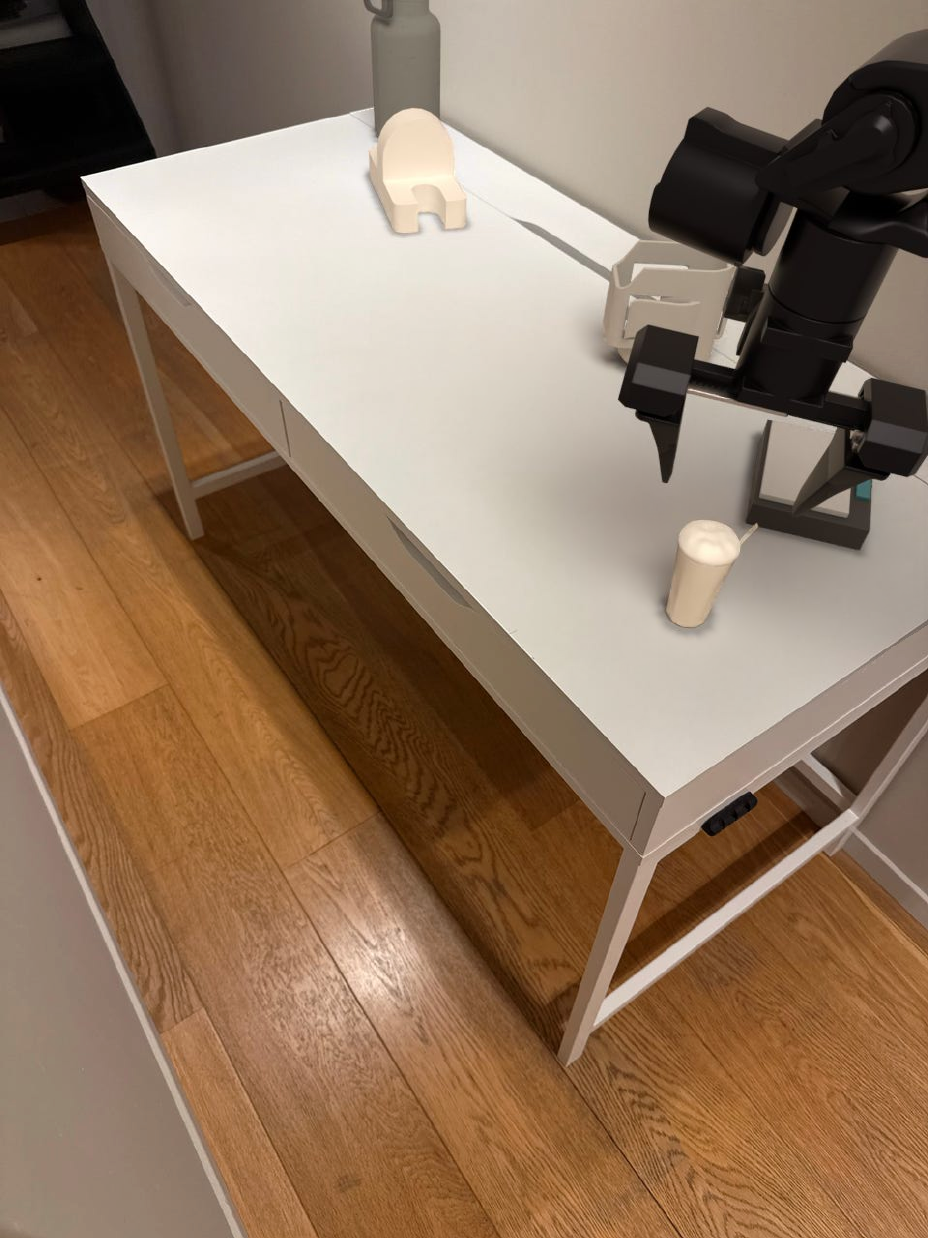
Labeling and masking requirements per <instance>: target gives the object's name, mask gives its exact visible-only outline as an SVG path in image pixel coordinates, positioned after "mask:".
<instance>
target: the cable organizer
mask: <svg viewBox="0 0 928 1238" xmlns="http://www.w3.org/2000/svg"><path fill="white" fill-rule="evenodd" d="M635 264H637V265H639V264H641V265H659V266H661V265H662V266H680V267H681V266H682V267H687V268H670V267H651V266H650V267H649V266H644V267H643V268H642V269H641V270H640V271H639V272H638V274H637V275H635V277H634V278H632V277H633V273H634V267H635ZM734 270H735V266H734V265H731V264H729V263H726V262H724V261H722V260H719V259H717V258H714V257H712V256H710V255H707V254H705V253H703V252H700V251H698V250H695V249H693V248H691V247H688V246H686V245H683V244H681V243H679V242H676V241H674V240H671V241H670V240H652V239H651V240H648V239H639V240H638V241H636V243H635V244H634V245H633V246H632V247H631V249H630V250H629V251H628V252H627V253H626V254H625V255H624V257H622V258H621V259H620V260H619V261H617V262H615V263H614V264H612V265H611V269H610V277H609V282H608V288H607V295H606V302H605V307H604V312H603V318H602V319H603V320H602V323H603V331H604V341H605V344H606V345H608V346H610V347H613V348H617V351H618V355H619V356H620V357H621V358H622V359H623V361H625V363H627V364H628V361H629V357H630V354H631V350H632V347H633V343H634V340H635V336H636V333H637V331H639V330H640V329H642V328H643V327H645V326H646V325H648V324H649V325H653V326H657V327H662V328H666V329H670V330H674V331H678V332H683V333H687V334H691V335H695V336H699V339H698V344H697V349H696V354H695V359H696V360H701V361H705V362H709V360H710V357H711V354H712V351H713V346H714V343H715V340H720V339H721V338H723V336H724V333H725V330H726V326H727V323H728V319H727V318H724V317H723V312H722V310H723V306H724V302H725V299H726V296H727V293H728V290H729V287H730V284H731V281H732V279H733V276H734ZM631 296H638V297H639V296H640V297H641V296H644V297H660V298H659V300H656V299H649V298H636V299H633V300H631V302H630V297H631ZM629 303H630V304H629ZM625 324H626V325H625ZM625 326H626V327H625ZM627 364H626V365H627Z"/></svg>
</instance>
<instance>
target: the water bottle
mask: <svg viewBox="0 0 928 1238" xmlns="http://www.w3.org/2000/svg"><path fill="white" fill-rule="evenodd" d="M380 2H381V3H380V4H381V8H377V7H376V6H374V5H373V4H372V2H371V0H363V5H364V8H365V9H366V11H368V12H369V13H372V14H373V15H374V16H373V18H372V20H371V23H370V44H371V46H370V47H371V68H372V88H373V89H372V90H373V93H372V94H373V114H374V115H373V116H374V118H373V119H374V130H375V133H376V135H377V137H379V135H380V132H381V130H382V128H383V127H384V125H385V123H386V122H387V121H388V120H389V119H390V118H391V117H392V116H393V115H395V114H396V113H398V112H400V111H402V110H406V109H411V108H417V109H423V110H426V111H428V112H431V113H432V114H433V115H434V116H436V117H437V118H438V119H439V120H440V121H441V35H442V34H441V32H442V31H441V23H440V21H439V19H438V17H437V16H436V15H435V14H434V13H433V12H432V11H431V10H430V0H380Z"/></svg>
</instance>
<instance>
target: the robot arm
mask: <svg viewBox="0 0 928 1238" xmlns="http://www.w3.org/2000/svg"><path fill="white" fill-rule="evenodd" d="M925 189H926V190H925ZM920 190H924V191H921V192H919V193H913V194H906V192H912V191H920ZM794 208H795V209H796V211H795V213H794V215H793V218H792V220H791V223H790V226H789V229H788V230H787V231H788V232H787V234H786V237H785V238H784V241H783V244H782V246H781V249H780V251H779V254H778V257H777V260H776V262H775V264H774V267H773V270H772V272H771V275H770V277H769V280H768V283H767V282H765V281H766V277H767V274H766V273H765V270H763V269H761V268H757V267H753V266H748V265H744V264H745V263H746V262H747V261H748V260H749V259H750V257H751V256H752V255H753V253H754V254H756V255H758V256H760V257H766V256H768V254H769V253H770V252H771V251H772V250H773V248H774V247H775V246H776V245H777V242H778V241H779V240H780V237H781V236H782V234H783V232H784V230H785V228H786V227H787V224H788V222H789V219H790V218H791V214H792V212H793V210H794ZM647 223H648V229H649V230H650V231H651V232H652V233H655V234H657V235H659V236H661V237H665V238H667V239H669V240H671V241H673V242H679V243H681V244H683V245H686V246H688V247H691V248H693V249H695V250H698V251H700V252H703V253H705V254H707V255H710V256H712V257H714V258H717V259H719V260H722V261H724V262H726V263H729V264H730V265H734V267H736V268H735V269H734V270H735V271H734V272H733V274H734V276H733V279H732V281H731V282H730V285H729V289H728V292H727V296H726V299H725V302H724V306H723V310H722V313H723V317H724V318H727V320H732V321H734V322H735V321H736V322H739V323H740V322H741V323H744V326H743V329H742V330H741V334H740V336H739V339H738V342H737V345H736V350H735V356H738V360H737V362H736V365H735V368H734V367H729V366H725V365H722V364H717V363H712V362H709V361H708V362H705V361H701V360H696V359H695V354H696V349H697V344H698V339H699V336H695V335H691V334H687V333H683V332H678V331H674V330H670V329H666V328H662V327H657V326H653V325H649V324H648V325H646V326H645V327H643V328H642V329H640V330H639V331H637V333H636V336H635V340H634V343H633V347H632V350H631V354H630V357H629V361H628V364H626V368H625V371H624V375H623V379H622V382H621V385H620V390H619V394H618V396H617V401H618V402H619V403H620V404H621V405H622V406H623V407H624V408H628V409H632V410H635V411H634V416H635V418H636V419H637V420H638V421H641V422H645V423H647V424H648V425H649V428H650V431H651V434H652V437H653V440H654V443H655V446H656V449H657V454H658V462H659V469H660V477H661V482H662V483H663V484H668V483H669V481H670V479H671V477H672V474H673V471H674V465H675V461H676V456H677V450H678V445H679V440H680V435H681V434H680V433H681V428H682V422H683V416H684V411H685V406H686V401H687V400H686V399H687V395H694V396H696V397H697V396H698V397H702V398H705V399H709V400H713V401H718V402H722V403H725V404H730V405H734V406H738V407H743V408H746V409H750V410H755V411H758V412H763V413H767V414H770V415H774V416H779V417H782V418H787V417H789V416H790V417H793V418H797V419H802V420H806V421H809V422H815V423H818V424H822V425H826V426H831V427H834V428H836V430H835V431H834V433H833V434H834V437H833V439H832V441H831V443H830V444H829V446H828V447H827V449H826V451H825V452H824V454H823V455H822V457H821V458H820V460H819V461H818V463H817V465H816V466H815V468H814V469H813V471H812V472H811V474H810V475H809V477H808V478H807V480H806V482H805V483H804V485H803V486H802V488H801V490H800V492H799V494H798V496H797V498H796V500H795V502H794V505H793V508H792V516H795V517H799V516H801V515H802V514H804V513H806V512H807V511H809V510H811V509H812V508H814V507H816V506H817V505H819V504H821V503H823V502H824V501H826V500H828V499H829V498H831V497H833V496H835V495H837V494H839V493H841V492H843V491H845V490H847V489H850V488H852V487H854V486H856V485H859V484H861V483H863V482H865V481H868V480H870V479H872V480H875V481H880V482H882V481H887V480H888V478H889V477H890V475H891V474H893V475H896V476H900V477H905V478H909V477H912V476H913V475H916V474H917V473H918V472H919V470H920V469H921V467H922V466H923V464H924V462H925V461H926V459H927V458H928V393H927V391H926V390H925V389H922V388H917V387H913V386H909V385H905V384H901V383H896V382H892V381H887V380H883V379H880V378H875V377H869V378H868V379H866V380H864V382H863V384H862V386H861V387H860V389H859V391H858V393H857V396H855V395H851V394H847V393H842V392H839V391H834V390H830V389H831V387H832V385H833V384H834V381H835V379H836V377H837V375H838V373H839V371H840V370H841V367H842V365H843V364H846V363H847V362H848V359H849V358H850V355H851V353H852V351H853V349H854V341H855V339H856V337H857V335H858V333H859V331H860V329H861V327H862V325H863V323H864V321H865V319H866V317H867V316H868V313H869V311H870V309H871V306H872V305H873V302H874V300H875V299H876V297H877V295H878V292H879V291H880V288H881V287H882V285H883V282H884V280H885V279H886V277H887V274H888V272H889V270H890V268H891V266H892V265H893V263H894V260H895V258H896V256H897V255H898V252H899V250H901V251H905V252H907V253H909V254H911V255H915V256H917V257H920V258H923V259H928V28H925V29H919V30H916V31H911V32H908V33H905V34H903V35H901V36H899V37H897V38H895V39H894V40H892V41H891V42H890V43H888V44H886V45H885V46H883V48H881V50H879V51H877V52H876V53H875V54H874V55H872V56H871V57H870V58H869V59H868V60H866V61H865V62H863V64H861V65H859V67H858V68H856V69H855V70H854V71H852V72H851V73H850V74H849V75H848V76H847V77H846V78H845V79H844V80H843V81H842V82H841V83H840V84H839V85H838V87H836V88H835V89H834V91H833V93H832V94H831V97H830V99H829V101H828V102H827V104H826V105H825V107H824V110H823V114H822V119H821V118H814V119H813V120H812V121H811V122H810V123H808V124H807V125H806V126H804V127H803V128H802V129H801V130H800V131H799V132H797V133H796V134H795V135H793V136H792V137H791V138H790V139H787V138H784V137H781V136H778V135H775V134H772V133H769V132H767V131H764V130H762V129H759V128H756V127H754V126H750V125H747V124H745V123H742V122H740V121H738V120H736V119H735V118H734V117H732V116H730V115H729V114H728V113H726V112H723V111H721V110H719V109H716V108H713V107H711V106H706V107H705V108H703V109H701V110H700V111H698V112H697V113H695V114H694V115H693V116H691V117H690V118H688V120H687V123H686V127H685V131H684V134H683V138H682V139H681V140H680V142H679V144H678V145H677V147H676V148H675V150H674V151H673V153H672V155H671V157H670V158H669V161H668V162H667V165H666V166H665V169H664V171H663V173H662V176H661V179H660V181H658V183H656V184H655V186H654V187H653V191H652V194H651V198H650V202H649V208H648V214H647Z"/></svg>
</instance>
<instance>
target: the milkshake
mask: <svg viewBox="0 0 928 1238" xmlns="http://www.w3.org/2000/svg"><path fill="white" fill-rule="evenodd" d="M758 528H759V526H758V524H757V523H756V524H755V525H752V527H751V528H750V529H749V530H748V531H747V532H746V533H745V534H744V535H743V536H742V537H741V538H740V539H739V538H738V536H737V534H736V533H735V531H734V530H733V529H732V528H731V527H729V526H728V525H726V524H725V523H722V522H720V521H716V520H712V519H698V520H697V519H696V520H692V521H690V522H688V523H687V524H686V525H685V526H684V527H683V528H682V529H681V530H680V533H679V535H678V540H677V546H676V552H675V559H674V566H673V567H674V568H673V573H672V578H671V583H670V588H669V594H668V598H667V604H666V609H665V613H666V614H667V616H668V618H669V620H670V622H672V623H674V624H675V625H678V626H679V627H682V628H697V627H698V626H700V625H701V624H703V623H705V621H706V619H707V617H708V615H709V614H710V611H711V609H712V607H713V605H714V603H715V601H716V599H717V597H718V594H719V593H720V590H721V588H722V586H723V584H724V583H725V580H726V579H727V577H728V575H729V573H730V571H731V570H732V567H733V565H734V564H735V562H736V560H737V558H738V557H739V554H740V553H741V545H742V544H743V543H744V542H745V541H746V540H747V539H748V538H749V537H750V536H751V535H752V534H753V533H754V532H755V531H756V530H757V529H758Z"/></svg>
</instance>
